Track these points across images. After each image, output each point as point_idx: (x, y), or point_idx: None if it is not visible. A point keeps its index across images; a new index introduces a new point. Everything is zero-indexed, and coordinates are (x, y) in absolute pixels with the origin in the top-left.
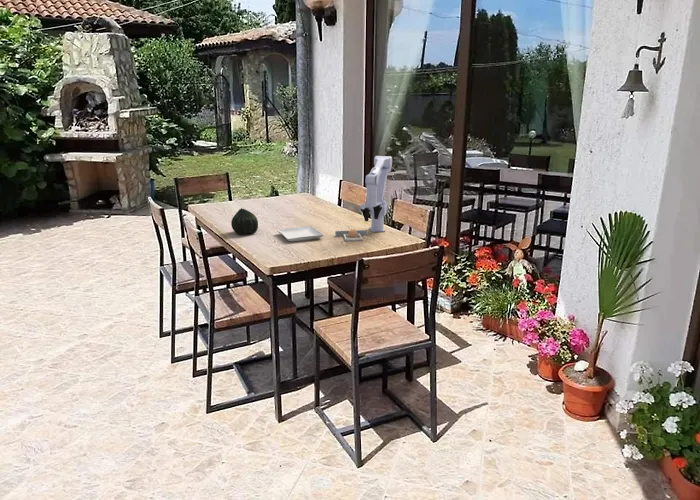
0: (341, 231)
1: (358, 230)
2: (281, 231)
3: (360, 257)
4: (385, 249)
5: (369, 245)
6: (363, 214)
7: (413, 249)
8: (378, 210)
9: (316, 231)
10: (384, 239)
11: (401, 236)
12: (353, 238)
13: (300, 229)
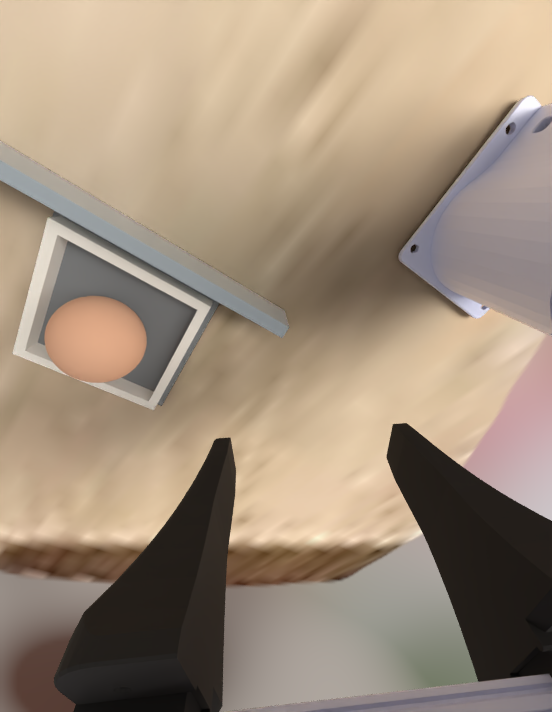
0: (9, 182)
1: (210, 289)
2: None
3: (9, 569)
4: None
5: (146, 481)
6: (173, 523)
7: (283, 579)
8: (455, 605)
9: None
10: (302, 445)
11: None
12: (86, 382)
13: None
